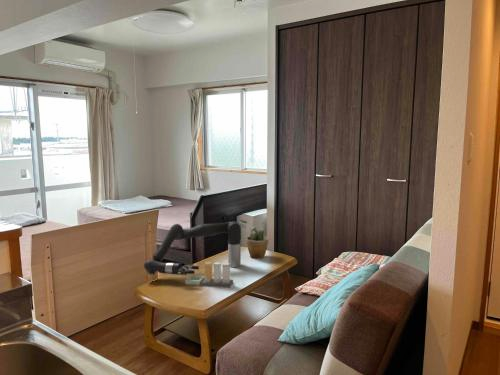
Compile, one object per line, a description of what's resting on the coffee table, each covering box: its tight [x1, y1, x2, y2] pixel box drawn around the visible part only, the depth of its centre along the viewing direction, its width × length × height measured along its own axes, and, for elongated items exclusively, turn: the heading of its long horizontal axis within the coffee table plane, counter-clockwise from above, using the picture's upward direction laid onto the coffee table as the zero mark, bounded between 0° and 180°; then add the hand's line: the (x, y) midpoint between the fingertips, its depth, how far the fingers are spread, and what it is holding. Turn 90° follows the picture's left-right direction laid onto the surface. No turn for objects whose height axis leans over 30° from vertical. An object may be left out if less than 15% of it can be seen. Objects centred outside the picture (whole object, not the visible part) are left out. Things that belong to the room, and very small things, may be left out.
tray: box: [184, 274, 205, 287], centre depth 250 cm, size 10×10×3 cm
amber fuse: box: [204, 261, 213, 282], centre depth 247 cm, size 3×4×12 cm
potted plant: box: [245, 226, 270, 260], centre depth 303 cm, size 18×19×25 cm
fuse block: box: [201, 277, 234, 288], centre depth 247 cm, size 9×19×4 cm, turn 78°
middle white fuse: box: [213, 261, 222, 282], centre depth 246 cm, size 3×4×12 cm
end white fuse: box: [222, 262, 231, 283], centre depth 245 cm, size 3×4×12 cm
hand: (196, 270), depth 248 cm, fingers open, 8 cm apart
